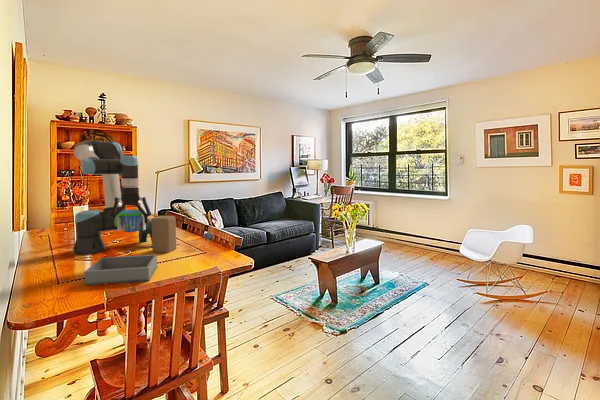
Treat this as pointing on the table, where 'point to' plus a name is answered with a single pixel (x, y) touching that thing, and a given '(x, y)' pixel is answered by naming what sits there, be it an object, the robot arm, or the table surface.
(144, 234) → the green animal figurine
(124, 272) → the grey tray
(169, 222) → the wooden block
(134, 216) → the snack cup
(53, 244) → the table surface
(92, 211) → the robot arm
